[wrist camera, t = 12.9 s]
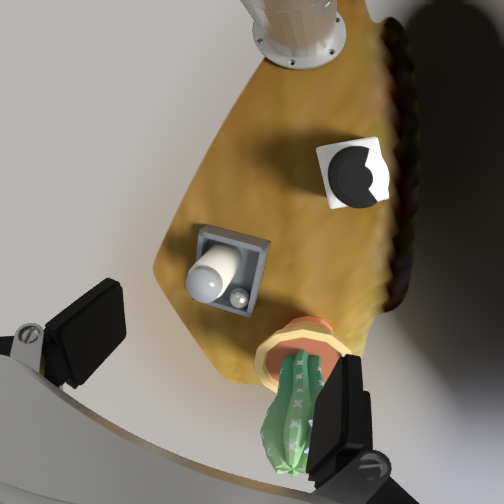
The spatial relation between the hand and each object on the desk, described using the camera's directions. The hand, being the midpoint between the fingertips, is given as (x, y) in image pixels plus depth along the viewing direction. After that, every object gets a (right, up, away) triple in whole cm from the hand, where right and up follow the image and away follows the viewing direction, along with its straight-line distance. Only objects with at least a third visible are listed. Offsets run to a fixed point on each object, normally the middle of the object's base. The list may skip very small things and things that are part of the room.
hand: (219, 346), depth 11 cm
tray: (-2, +1, +34) cm, 34 cm away
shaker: (-3, +3, +32) cm, 33 cm away
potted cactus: (+11, -11, +35) cm, 38 cm away
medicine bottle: (+14, +15, +24) cm, 32 cm away
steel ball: (0, -3, +34) cm, 34 cm away
